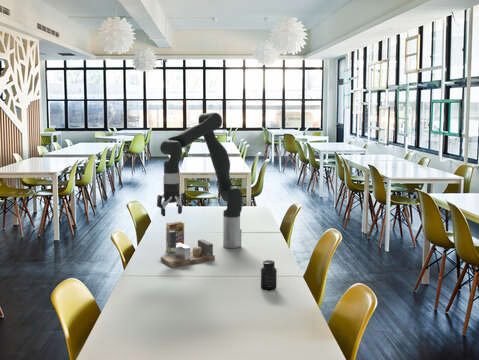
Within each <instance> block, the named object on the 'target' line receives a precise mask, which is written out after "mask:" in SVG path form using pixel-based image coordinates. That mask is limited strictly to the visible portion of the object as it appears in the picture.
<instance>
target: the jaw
mask: <svg viewBox="0 0 479 360" xmlns="http://www.w3.org/2000/svg"><path fill="white" fill-rule="evenodd" d="M168 247H169V248H171V251H173V252H172V253H174V252H175V254H174V255H177V256H178V257H180V258H182V259H184V260H188V259H190V252H191V247H190V246H189V245H186V244H185V243H184V244H183V243H176V231H173V230H172V231H168Z"/></svg>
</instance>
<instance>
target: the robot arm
mask: <svg viewBox="0 0 479 360" xmlns="http://www.w3.org/2000/svg"><path fill="white" fill-rule="evenodd" d="M222 125H223V119H222V116H221V114H220V113H218V112H206V113H205V112H204V113H201V114H200V115H199V117H198V124H196V125H193V126H191V127H188V128H187V129H184V130H183V131H181V132H180V133H178V134H177V135H174V136H170V137H169V138H166V139H165V140H163V141H162V142H161V143H160V146H159V147H160V148H159V150H160V152H161V153H162V154H163V155H165V156H169V159H166V160H164V162H163V181H162V182H163V194H157V197H156V201H157V202H156V207H157V208H160V214H161V216H162V217H166V207H167V206H168V205H169V204H176V205H178V206H177V214H178V215H181V214H182V213H183V206H185V205H186V202H187V201H186V193H185V192H180V173H179V172H180V171H179V170H180V169H179V167H180V165H179V163H180V160H181V156H182V152H183V148H186V147H188V146H189V145H190V144H192V143H194V142H196V141H197V140H198V139H200V138H202V137H203V139H204V141H205V143H206V147H207V149H208V152H209V156H210V159H211V163H212V167H213V170H214V172H215V176H216V178H217V182H218V188H219V192H220V196H221V197H220V198H221V199H222V200H223V202H225V203H226V209H224V210H223V211H222V212H223V213H222V214H223V215H222V216H223V217H222V218H223V222H222V223H223V225H222V226H223V227H222V231H223V233H222V236H223V237H222V239H223V240H222V247H224V248H225V249H238V248H241V247H242V234H243V233H242V229H241V213H242V210H243V192H242V190H241V189H240V188H238V187H236V186H234V185H233V183H232V180H231V176H230V171H231V170H230V169H231V162H230V157H229V154H228V151H227V149H226V147H224V145H223V144H222V143H221V142H220V140H218V138H217V136H216V134H215V131H216V130H219V129H220V128H221V127H222ZM179 198H180V199H179Z"/></svg>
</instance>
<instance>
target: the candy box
mask: <svg viewBox="0 0 479 360" xmlns="http://www.w3.org/2000/svg"><path fill="white" fill-rule="evenodd" d="M165 226H166V227H165V228H166V229H165V233H166V234H165V241H166V242H165V251H166V252H168V253H174V252H173V251H171V248H169V247H168V231H172V230H173V231H176V243H183V244H185V222H184V221H175V222H168V223H166V225H165Z"/></svg>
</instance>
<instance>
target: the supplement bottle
mask: <svg viewBox="0 0 479 360" xmlns="http://www.w3.org/2000/svg"><path fill="white" fill-rule="evenodd" d="M275 263H276V262H275V261H274V260H271V259H269V260H268V259H266V260H264V261H263V263H262V267H261V268H260V289H261V290H262V289H263V291H265V290H267V291H266V292H272V291H271V290H273V291H275V290H276V289H277V283H278V282H277V281H278V280H277V278H278V277H277V275H278V271H277V268H276V265H275Z"/></svg>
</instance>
